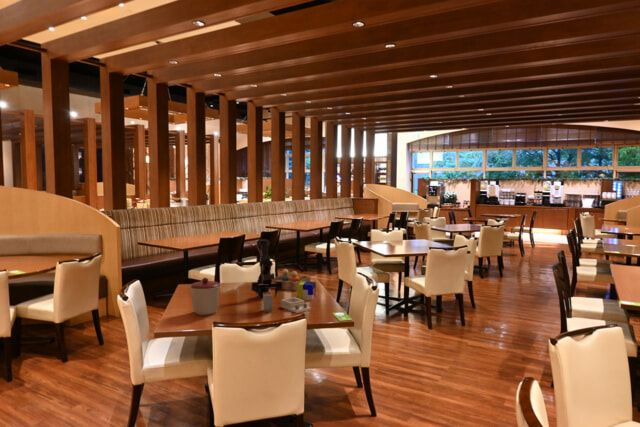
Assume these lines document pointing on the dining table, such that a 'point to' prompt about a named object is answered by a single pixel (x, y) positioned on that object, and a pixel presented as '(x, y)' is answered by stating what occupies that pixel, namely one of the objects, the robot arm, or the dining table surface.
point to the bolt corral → (291, 282)
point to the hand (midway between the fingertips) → (267, 297)
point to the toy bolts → (292, 277)
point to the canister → (205, 296)
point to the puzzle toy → (306, 290)
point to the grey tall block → (267, 301)
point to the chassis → (294, 305)
